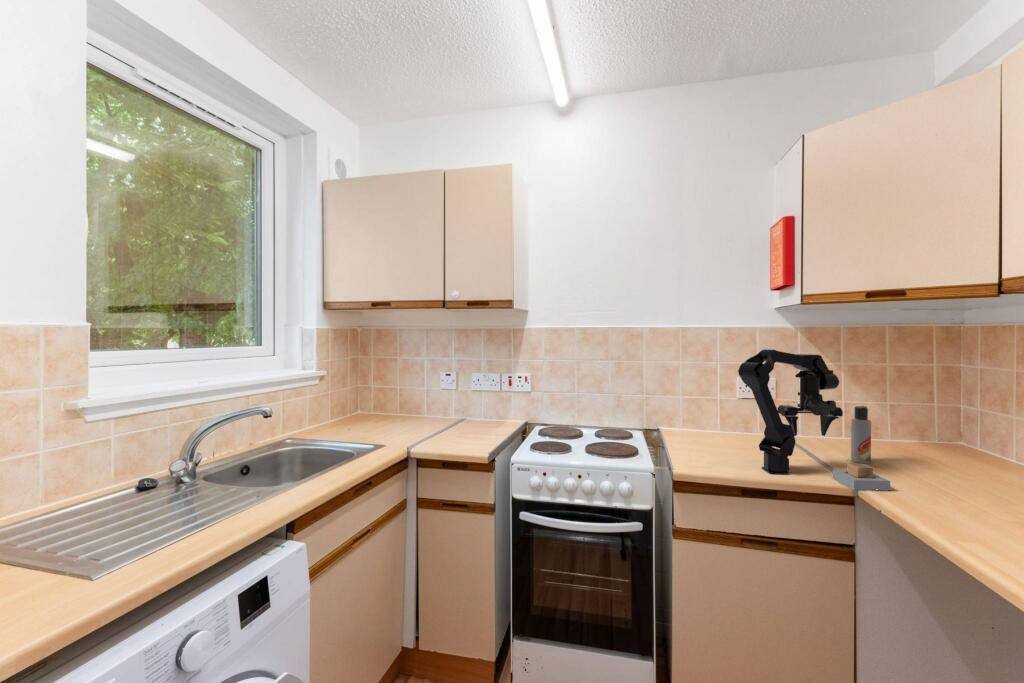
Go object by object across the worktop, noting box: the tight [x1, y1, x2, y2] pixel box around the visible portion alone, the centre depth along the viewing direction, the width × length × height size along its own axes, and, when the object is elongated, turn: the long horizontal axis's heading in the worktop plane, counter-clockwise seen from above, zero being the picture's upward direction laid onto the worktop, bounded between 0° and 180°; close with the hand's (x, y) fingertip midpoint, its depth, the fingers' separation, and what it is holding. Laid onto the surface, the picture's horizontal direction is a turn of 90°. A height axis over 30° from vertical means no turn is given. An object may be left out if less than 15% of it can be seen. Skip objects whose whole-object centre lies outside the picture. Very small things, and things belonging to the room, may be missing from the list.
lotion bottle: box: [850, 405, 872, 465], centre depth 161 cm, size 6×6×20 cm
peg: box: [847, 463, 874, 479], centre depth 136 cm, size 4×4×6 cm
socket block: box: [832, 469, 891, 492], centre depth 136 cm, size 10×10×3 cm
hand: (809, 435), depth 154 cm, fingers open, 9 cm apart
